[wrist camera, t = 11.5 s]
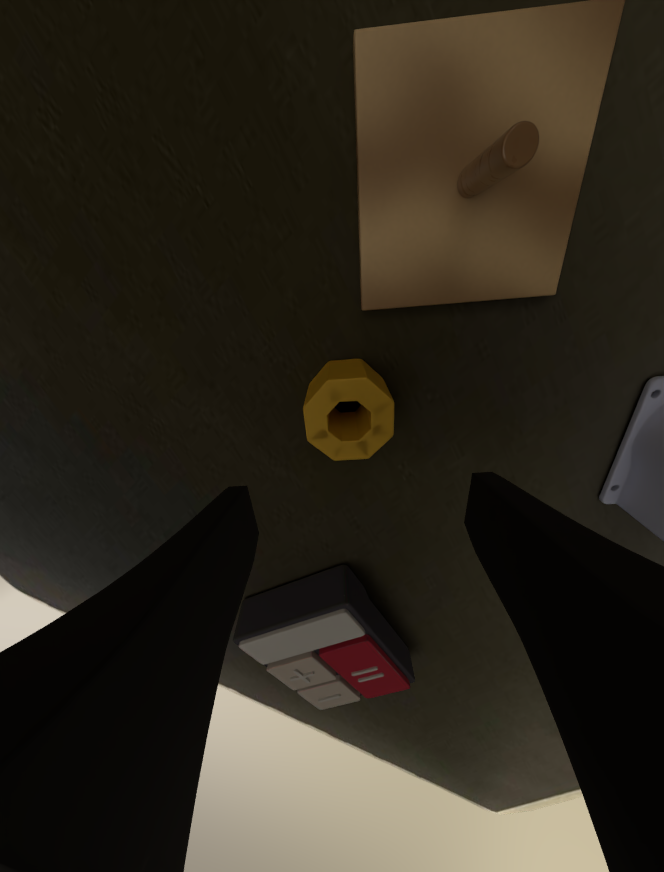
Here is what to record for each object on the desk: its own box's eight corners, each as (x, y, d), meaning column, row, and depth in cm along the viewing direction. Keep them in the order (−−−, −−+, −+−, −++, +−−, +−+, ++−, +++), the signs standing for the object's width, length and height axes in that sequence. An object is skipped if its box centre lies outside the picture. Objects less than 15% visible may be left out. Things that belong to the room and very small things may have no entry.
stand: (546, 294, 16) (625, 299, 12) (360, 309, 17) (370, 320, 12) (609, 12, 12) (776, -152, 7) (352, 43, 12) (362, -94, 8)
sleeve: (383, 426, 20) (393, 457, 16) (314, 430, 20) (309, 462, 17) (383, 356, 18) (395, 375, 14) (306, 362, 18) (299, 382, 15)
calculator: (318, 715, 31) (227, 651, 24) (319, 667, 35) (240, 599, 28) (419, 692, 29) (349, 613, 22) (408, 642, 32) (345, 562, 26)
